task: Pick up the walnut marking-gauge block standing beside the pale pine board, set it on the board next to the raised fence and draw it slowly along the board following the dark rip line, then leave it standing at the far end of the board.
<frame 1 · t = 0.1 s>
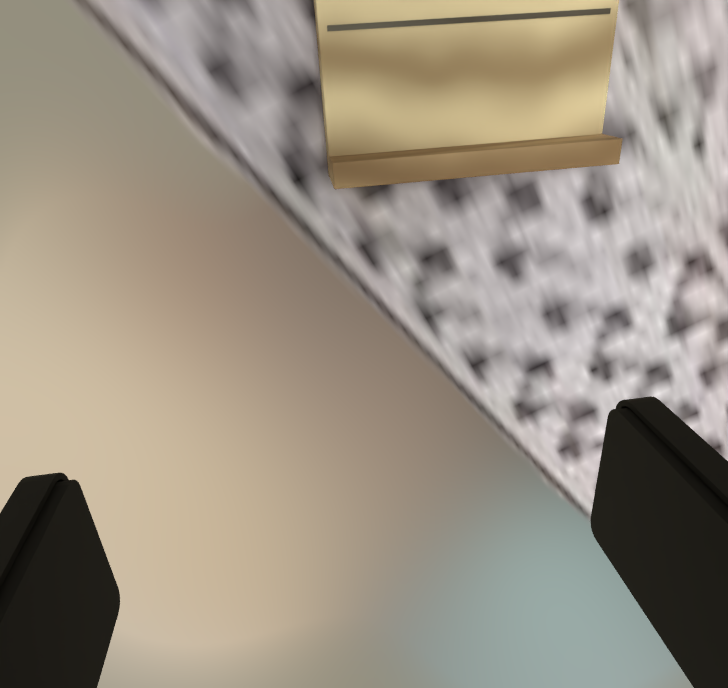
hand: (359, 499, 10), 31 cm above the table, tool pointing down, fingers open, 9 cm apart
board: (461, 57, 36), on the table
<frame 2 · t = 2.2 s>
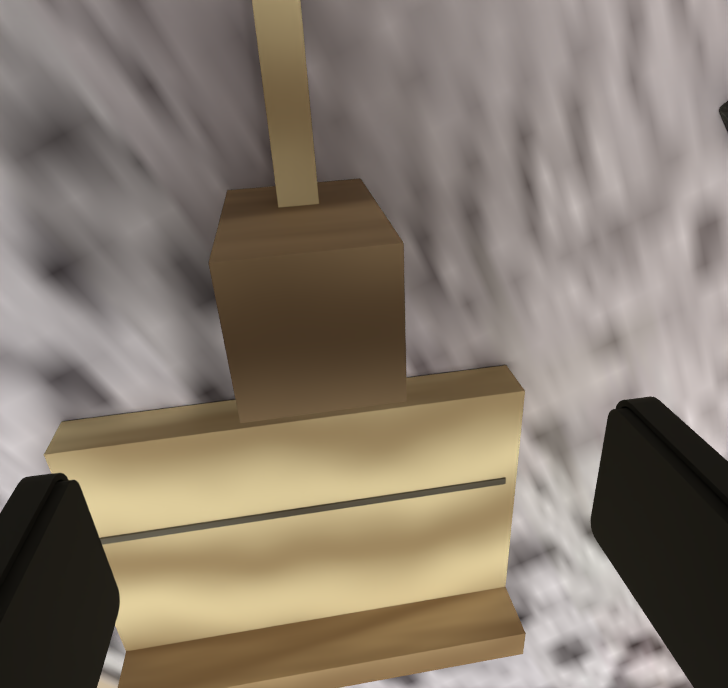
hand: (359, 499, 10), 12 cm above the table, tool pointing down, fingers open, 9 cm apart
board: (309, 509, 26), on the table
gauge: (301, 247, 20), on the table
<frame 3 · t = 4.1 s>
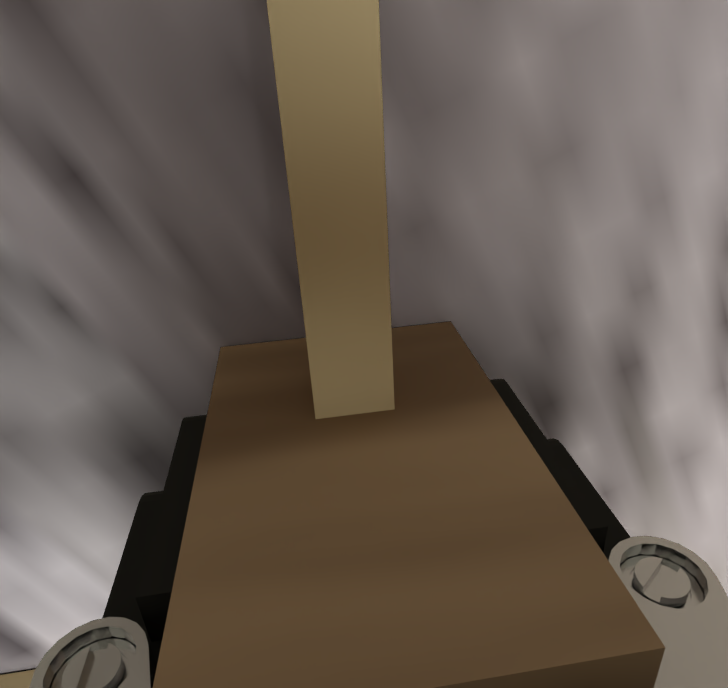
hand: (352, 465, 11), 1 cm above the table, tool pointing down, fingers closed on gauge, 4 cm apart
gauge: (346, 428, 12), on the table, touching gripper
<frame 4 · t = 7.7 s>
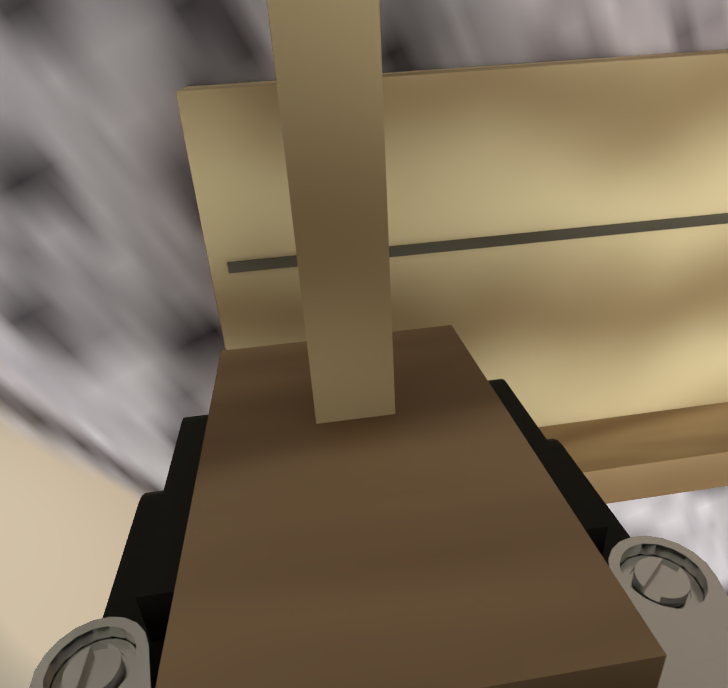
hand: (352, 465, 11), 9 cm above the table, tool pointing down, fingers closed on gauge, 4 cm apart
board: (495, 277, 19), on the table
gauge: (346, 432, 12), point 8 cm above the table, touching gripper
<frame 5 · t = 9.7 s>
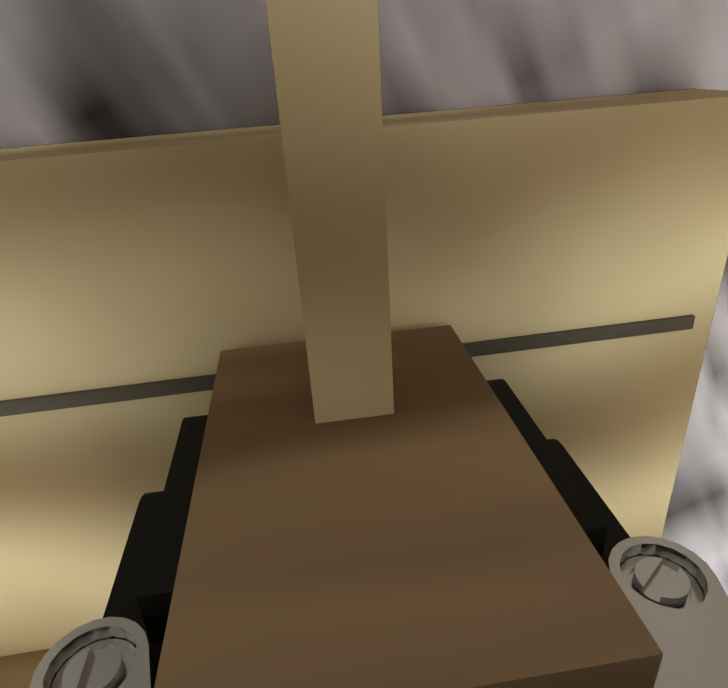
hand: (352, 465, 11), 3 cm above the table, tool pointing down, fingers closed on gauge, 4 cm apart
board: (307, 400, 14), on the table
gauge: (346, 431, 12), point 2 cm above the table, touching gripper
when the fingers open (3 cm above the table, at t = 11.6 s): gauge stays where it is, resting on board.
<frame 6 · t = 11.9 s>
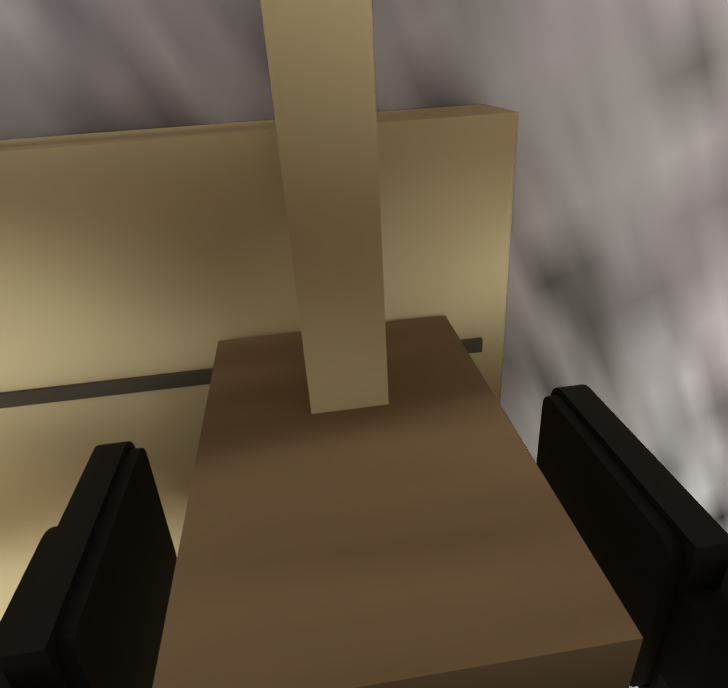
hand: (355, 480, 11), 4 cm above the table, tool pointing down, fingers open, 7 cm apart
board: (113, 418, 14), on the table
gauge: (342, 420, 12), point 2 cm above the table, touching board
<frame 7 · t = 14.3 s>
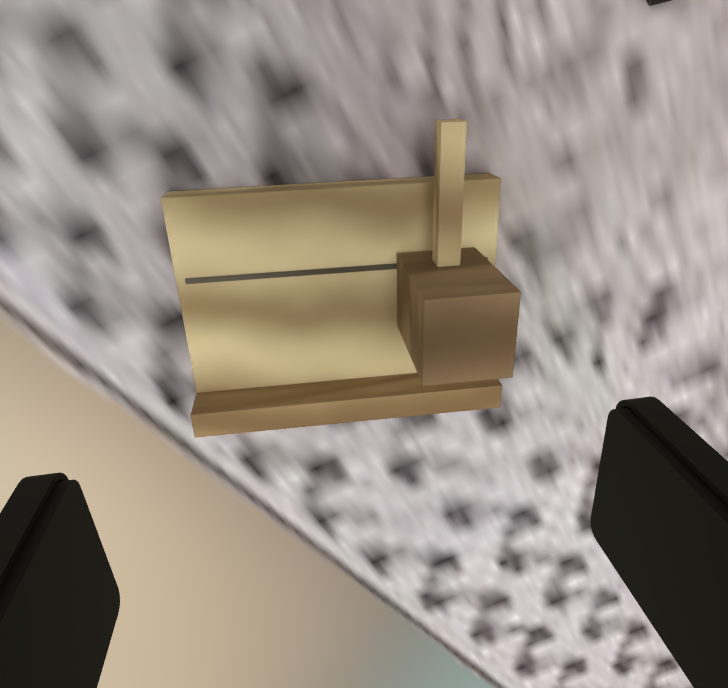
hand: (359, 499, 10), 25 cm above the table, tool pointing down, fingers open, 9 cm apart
board: (339, 291, 34), on the table
gauge: (435, 287, 33), point 2 cm above the table, touching board
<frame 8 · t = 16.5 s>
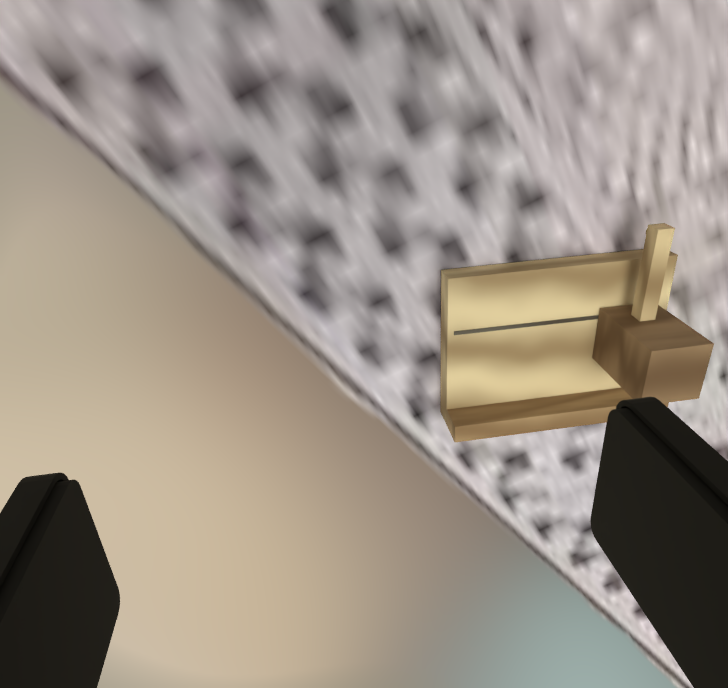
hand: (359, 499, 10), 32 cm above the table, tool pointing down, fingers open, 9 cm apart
board: (546, 333, 47), on the table
gauge: (622, 330, 45), point 2 cm above the table, touching board
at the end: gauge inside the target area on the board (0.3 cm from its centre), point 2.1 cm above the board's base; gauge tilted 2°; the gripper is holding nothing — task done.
